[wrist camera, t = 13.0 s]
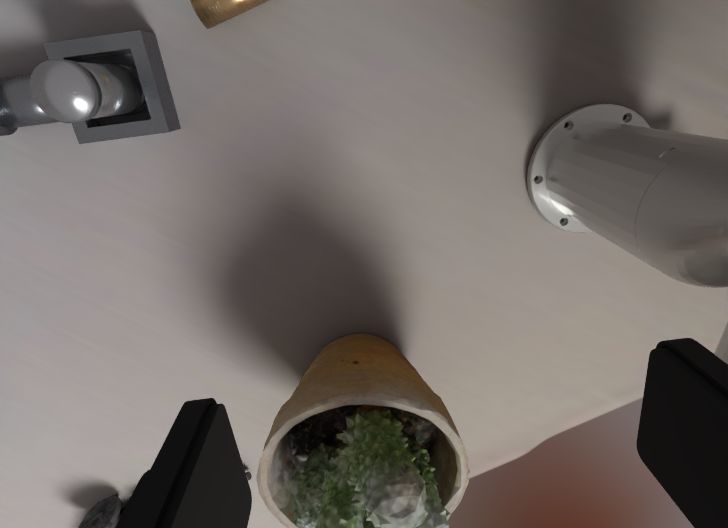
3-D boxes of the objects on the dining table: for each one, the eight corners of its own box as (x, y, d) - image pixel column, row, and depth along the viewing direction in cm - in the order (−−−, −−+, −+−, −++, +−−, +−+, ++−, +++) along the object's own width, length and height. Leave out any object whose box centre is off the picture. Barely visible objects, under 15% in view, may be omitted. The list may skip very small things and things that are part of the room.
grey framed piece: (154, 33, 39) (128, 27, 34) (180, 128, 42) (160, 134, 37) (-15, 56, 39) (-64, 53, 34) (23, 149, 42) (-17, 158, 37)
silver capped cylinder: (141, 60, 39) (78, 54, 30) (156, 110, 41) (100, 119, 32) (95, 67, 39) (18, 63, 30) (111, 116, 41) (43, 126, 32)
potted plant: (445, 418, 56) (514, 652, 33) (302, 444, 57) (273, 692, 34) (423, 290, 49) (492, 475, 26) (261, 323, 50) (188, 530, 27)
